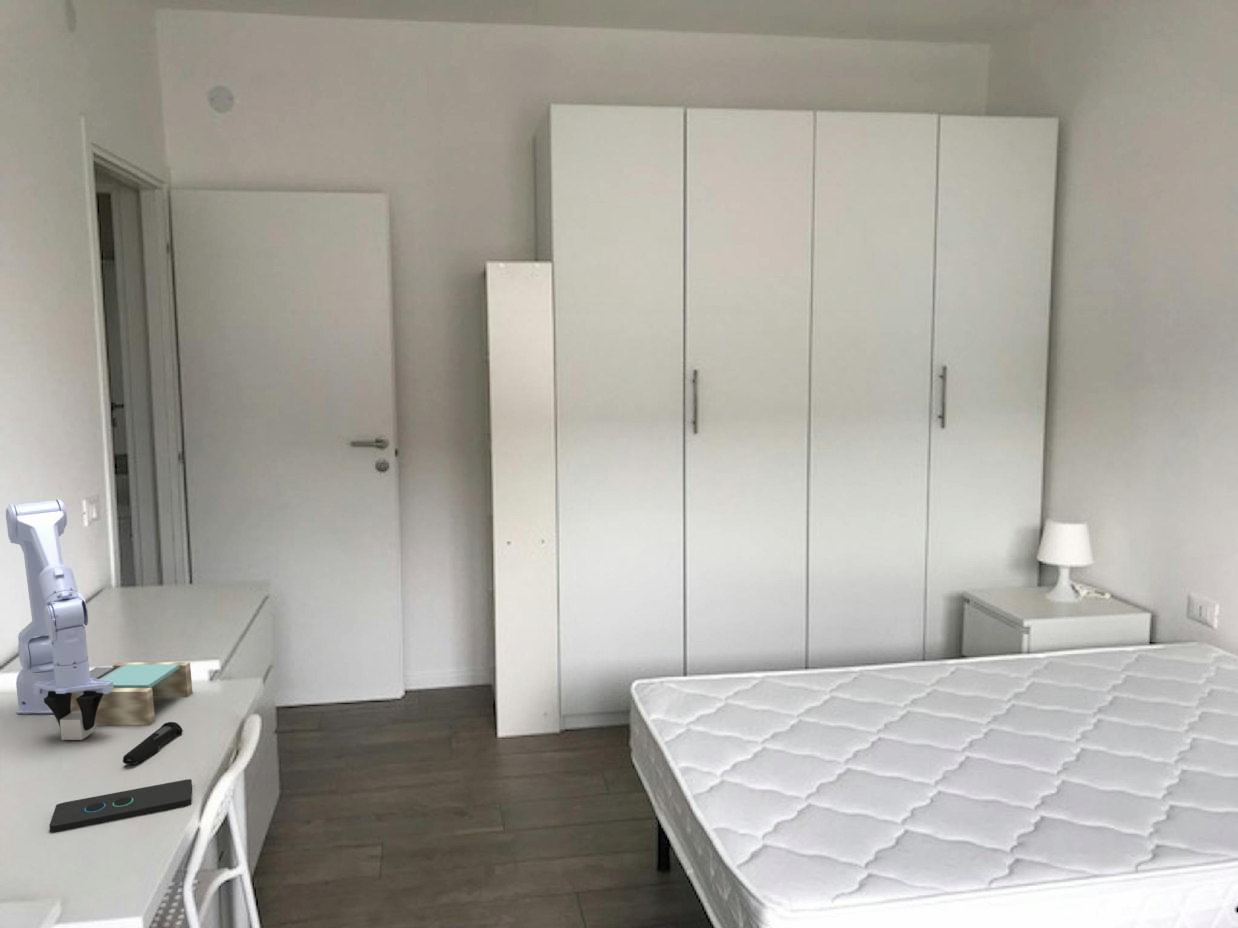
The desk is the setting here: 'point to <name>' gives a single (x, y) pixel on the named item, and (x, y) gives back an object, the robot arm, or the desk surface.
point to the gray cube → (73, 727)
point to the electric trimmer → (152, 743)
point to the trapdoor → (134, 674)
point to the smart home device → (121, 805)
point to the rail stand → (139, 697)
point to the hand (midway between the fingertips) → (77, 728)
